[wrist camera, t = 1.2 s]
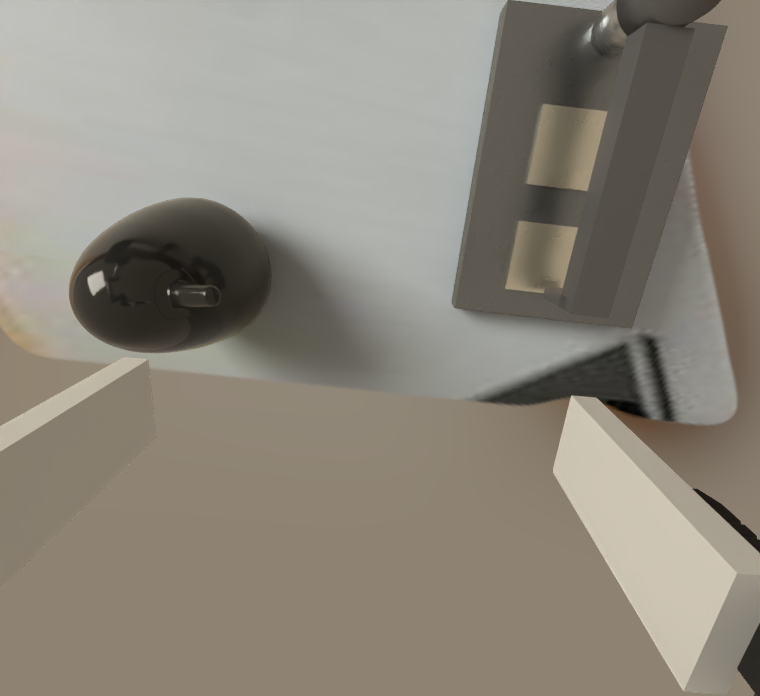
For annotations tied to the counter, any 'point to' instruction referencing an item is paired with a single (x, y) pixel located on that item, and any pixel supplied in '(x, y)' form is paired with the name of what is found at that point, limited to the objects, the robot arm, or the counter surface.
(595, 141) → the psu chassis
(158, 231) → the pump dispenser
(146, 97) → the counter surface
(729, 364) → the counter surface
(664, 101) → the lever
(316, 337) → the counter surface
